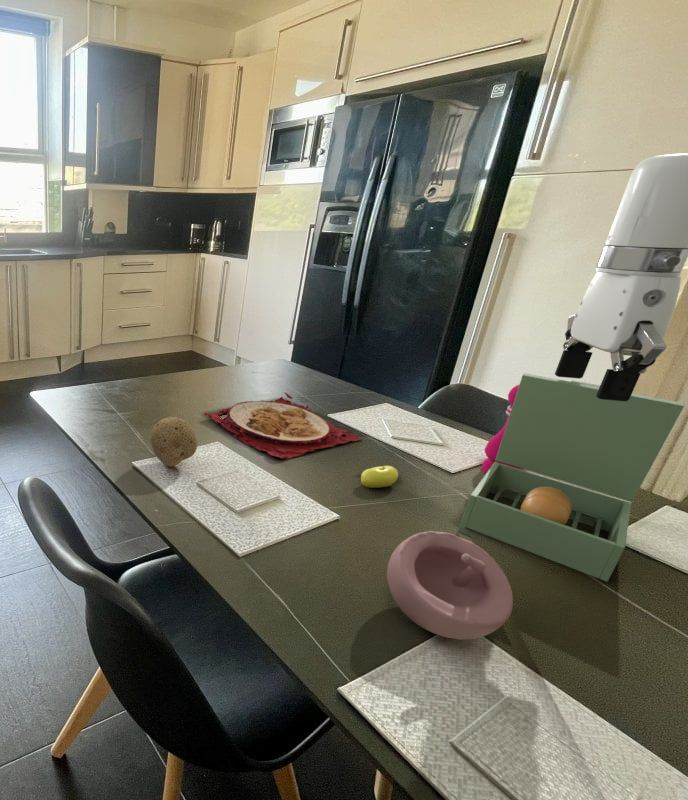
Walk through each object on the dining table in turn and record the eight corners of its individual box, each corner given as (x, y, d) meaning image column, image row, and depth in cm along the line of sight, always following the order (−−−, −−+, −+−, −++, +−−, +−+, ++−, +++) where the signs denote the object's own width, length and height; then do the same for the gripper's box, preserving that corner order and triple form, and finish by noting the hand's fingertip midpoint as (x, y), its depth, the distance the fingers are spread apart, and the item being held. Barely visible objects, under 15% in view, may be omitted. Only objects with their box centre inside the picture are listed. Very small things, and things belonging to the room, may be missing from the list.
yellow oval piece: (351, 482, 91) (356, 464, 89) (385, 476, 93) (390, 458, 91) (369, 494, 87) (374, 475, 85) (404, 488, 89) (410, 469, 88)
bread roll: (558, 543, 69) (572, 512, 67) (512, 526, 73) (524, 496, 71) (566, 519, 74) (579, 490, 73) (523, 504, 78) (534, 476, 76)
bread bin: (603, 589, 65) (624, 548, 63) (457, 531, 77) (470, 494, 74) (613, 539, 76) (631, 502, 73) (482, 494, 87) (495, 461, 85)
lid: (684, 406, 64) (688, 388, 66) (522, 375, 75) (531, 360, 78) (632, 501, 73) (637, 482, 75) (495, 460, 84) (503, 445, 87)
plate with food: (202, 419, 117) (203, 406, 116) (281, 402, 127) (283, 389, 126) (275, 464, 98) (278, 449, 96) (362, 439, 108) (365, 425, 106)
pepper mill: (483, 460, 99) (516, 367, 92) (529, 474, 94) (568, 377, 87) (473, 471, 95) (507, 375, 88) (520, 487, 90) (560, 385, 82)
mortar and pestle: (401, 655, 55) (428, 575, 51) (362, 581, 66) (382, 510, 62) (518, 671, 53) (556, 589, 49) (459, 592, 64) (485, 520, 60)
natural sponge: (180, 451, 101) (184, 407, 98) (203, 471, 94) (209, 424, 90) (141, 457, 98) (144, 412, 95) (162, 479, 91) (166, 431, 87)
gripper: (739, 270, 53) (670, 413, 59) (629, 257, 69) (583, 372, 75) (652, 267, 55) (594, 406, 61) (564, 255, 71) (525, 367, 77)
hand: (588, 387), depth 68 cm, fingers open, 9 cm apart
